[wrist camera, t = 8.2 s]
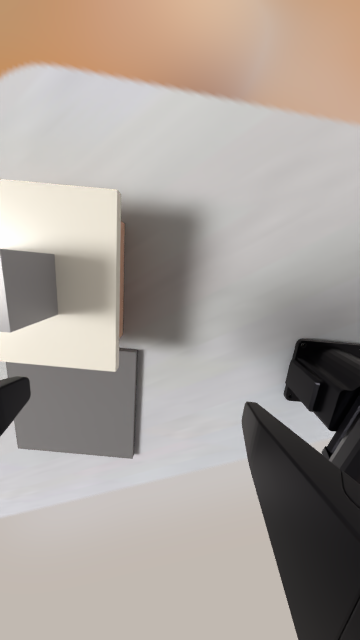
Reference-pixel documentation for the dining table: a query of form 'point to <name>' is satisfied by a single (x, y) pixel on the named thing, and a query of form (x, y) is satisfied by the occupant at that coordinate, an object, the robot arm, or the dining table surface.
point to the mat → (79, 408)
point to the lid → (59, 275)
